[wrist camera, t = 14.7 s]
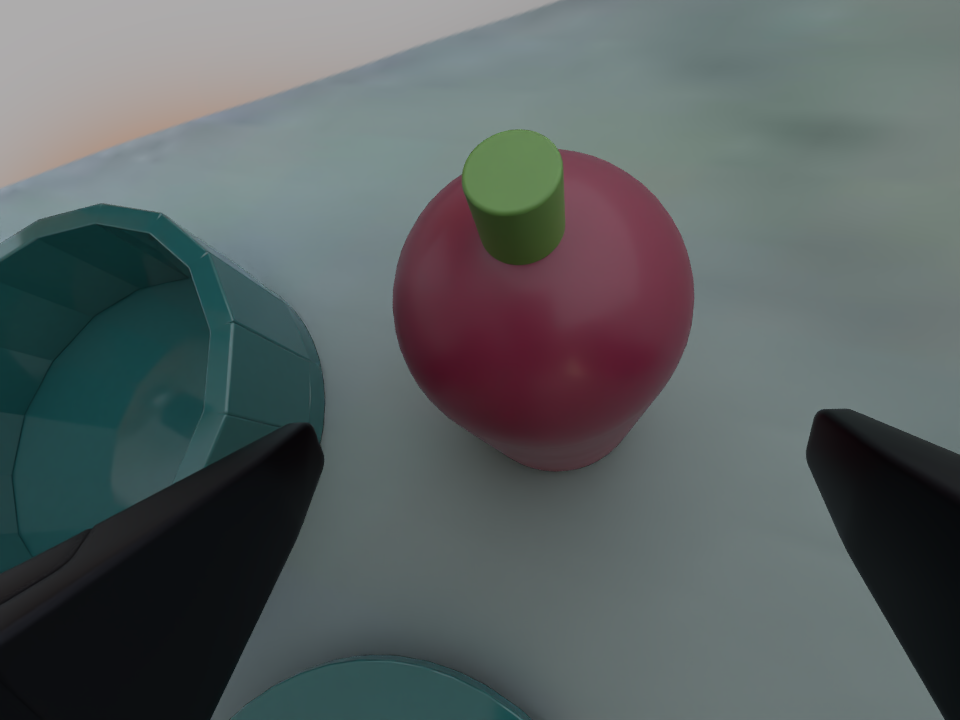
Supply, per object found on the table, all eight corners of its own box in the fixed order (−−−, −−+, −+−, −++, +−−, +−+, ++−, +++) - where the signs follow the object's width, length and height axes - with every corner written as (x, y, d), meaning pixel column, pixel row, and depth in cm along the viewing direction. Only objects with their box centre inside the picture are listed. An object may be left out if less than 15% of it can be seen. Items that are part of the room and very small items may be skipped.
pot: (138, 712, 15) (-61, 809, 10) (-23, 458, 20) (-211, 445, 15) (395, 391, 17) (325, 348, 12) (191, 224, 21) (82, 146, 16)
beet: (572, 508, 14) (568, 532, 4) (442, 404, 16) (209, 238, 6) (673, 369, 15) (891, 81, 5) (536, 284, 17) (475, -55, 6)
